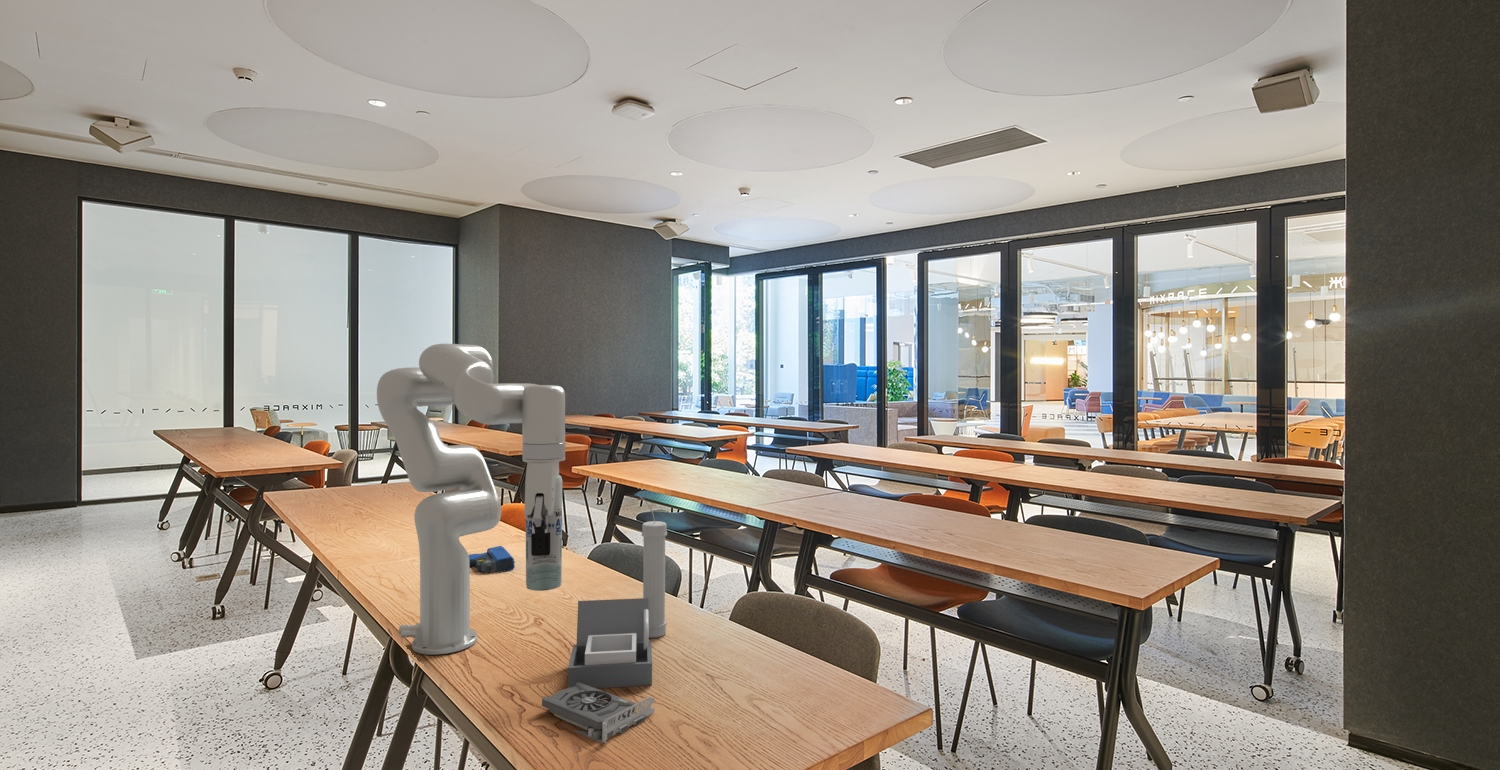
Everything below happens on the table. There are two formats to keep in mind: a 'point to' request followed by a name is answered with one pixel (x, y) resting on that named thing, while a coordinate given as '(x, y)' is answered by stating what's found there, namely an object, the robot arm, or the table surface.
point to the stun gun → (492, 560)
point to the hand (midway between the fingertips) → (543, 549)
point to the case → (612, 644)
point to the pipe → (654, 574)
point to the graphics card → (596, 711)
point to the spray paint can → (549, 567)
